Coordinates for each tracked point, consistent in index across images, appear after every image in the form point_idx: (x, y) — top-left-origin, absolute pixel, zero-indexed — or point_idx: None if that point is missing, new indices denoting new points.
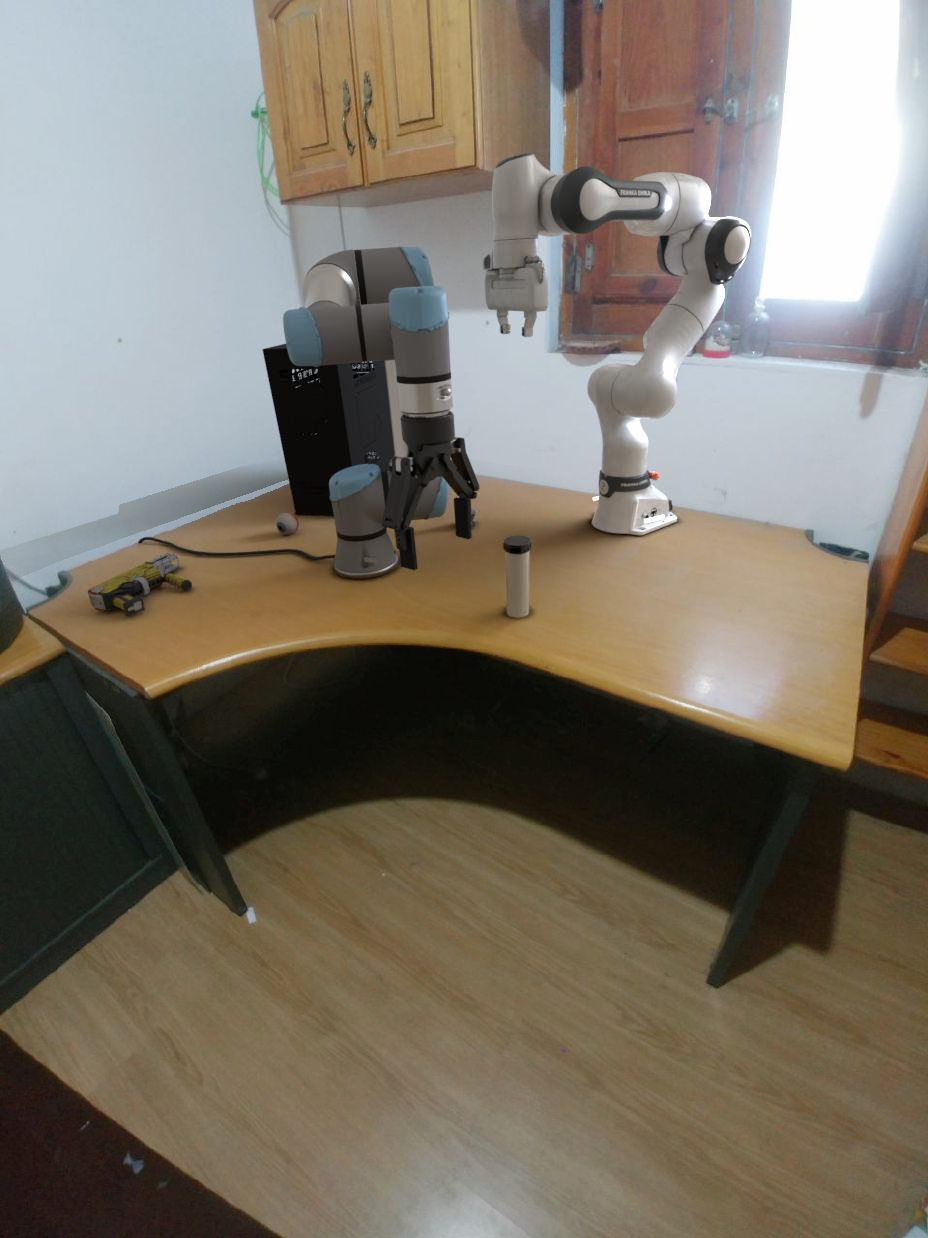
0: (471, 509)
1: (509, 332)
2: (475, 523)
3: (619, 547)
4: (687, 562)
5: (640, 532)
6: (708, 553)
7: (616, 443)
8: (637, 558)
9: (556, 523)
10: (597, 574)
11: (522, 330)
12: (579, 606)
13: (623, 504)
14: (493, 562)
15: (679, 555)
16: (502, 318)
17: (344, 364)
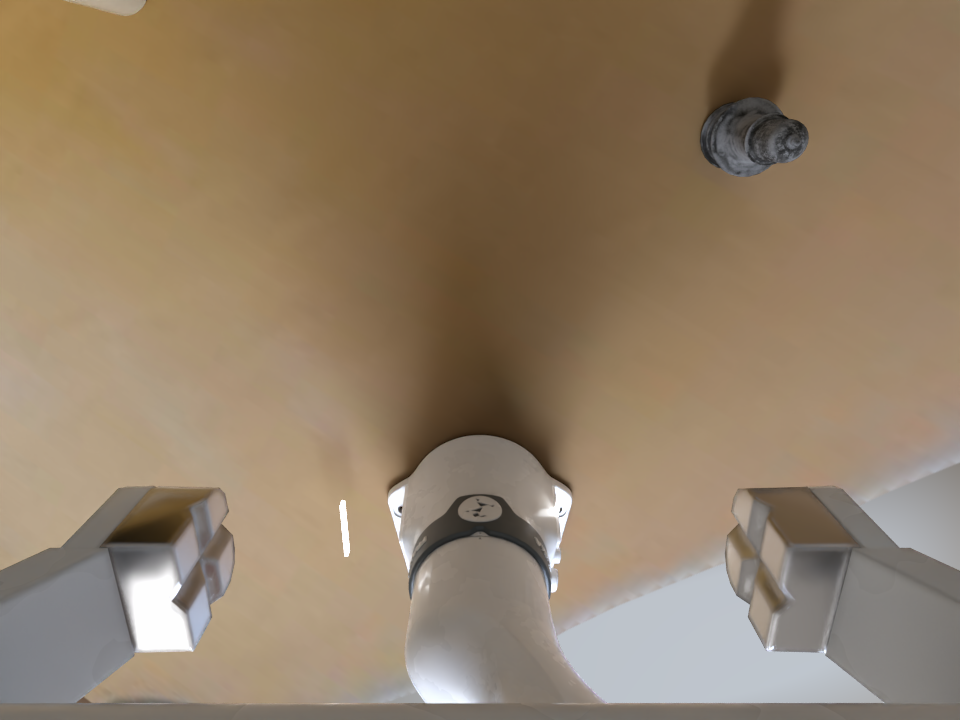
0: (736, 156)
1: (728, 565)
2: (717, 166)
3: (354, 414)
4: (216, 482)
5: (389, 495)
6: (238, 542)
7: (445, 618)
8: (280, 410)
9: (577, 373)
10: (239, 282)
11: (168, 518)
12: (98, 146)
13: (423, 510)
14: (429, 77)
15: (255, 491)
16: (945, 656)
17: None
